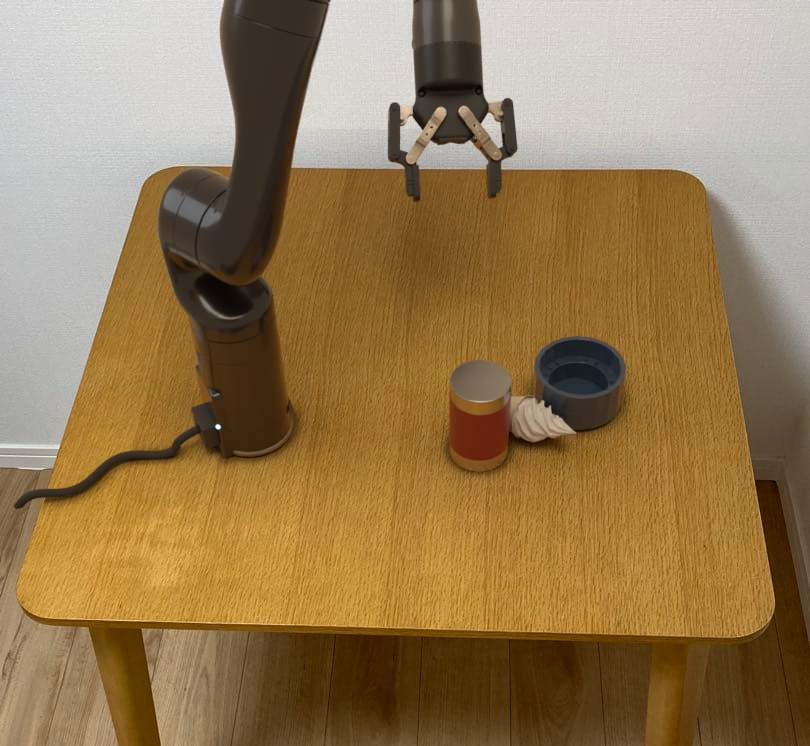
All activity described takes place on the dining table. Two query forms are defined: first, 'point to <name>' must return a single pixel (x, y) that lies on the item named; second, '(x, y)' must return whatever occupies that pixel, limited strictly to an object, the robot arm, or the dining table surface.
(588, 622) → the dining table surface
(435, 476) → the dining table surface
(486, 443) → the tin can
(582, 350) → the bowl
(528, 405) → the ice cream cone
